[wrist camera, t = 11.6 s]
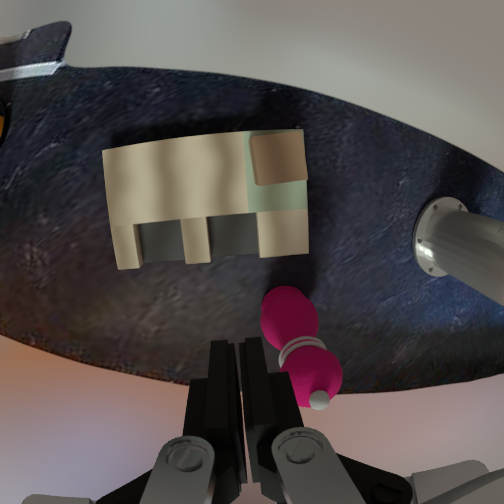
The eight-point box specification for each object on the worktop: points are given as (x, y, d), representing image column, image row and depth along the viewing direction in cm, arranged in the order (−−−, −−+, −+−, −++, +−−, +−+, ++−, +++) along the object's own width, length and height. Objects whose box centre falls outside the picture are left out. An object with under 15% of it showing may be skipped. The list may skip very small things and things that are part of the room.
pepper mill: (296, 272, 40) (349, 359, 21) (316, 314, 42) (370, 410, 23) (248, 296, 41) (263, 399, 21) (271, 336, 43) (298, 443, 23)
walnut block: (291, 136, 33) (301, 130, 28) (297, 177, 34) (308, 179, 30) (248, 141, 33) (251, 136, 28) (255, 183, 34) (259, 186, 29)
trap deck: (298, 131, 35) (303, 129, 33) (304, 248, 39) (308, 253, 37) (109, 151, 34) (102, 150, 32) (124, 263, 38) (118, 269, 36)
